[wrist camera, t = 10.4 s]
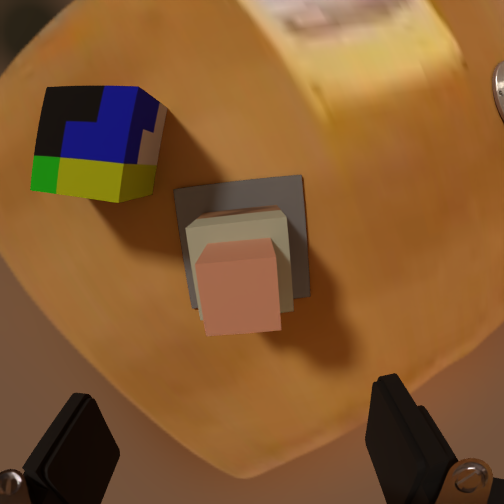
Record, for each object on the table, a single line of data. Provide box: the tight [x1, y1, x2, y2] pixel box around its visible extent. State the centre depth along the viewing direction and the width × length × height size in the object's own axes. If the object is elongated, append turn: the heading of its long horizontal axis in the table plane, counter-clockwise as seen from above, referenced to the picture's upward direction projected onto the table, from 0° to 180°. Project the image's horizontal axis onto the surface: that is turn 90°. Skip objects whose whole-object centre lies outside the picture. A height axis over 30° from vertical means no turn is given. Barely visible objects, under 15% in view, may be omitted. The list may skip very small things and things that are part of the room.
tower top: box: [185, 210, 294, 320], centre depth 29 cm, size 8×8×5 cm
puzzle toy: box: [30, 86, 167, 203], centre depth 29 cm, size 10×10×10 cm
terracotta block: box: [195, 238, 281, 336], centre depth 23 cm, size 5×5×6 cm
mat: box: [173, 175, 310, 308], centre depth 36 cm, size 14×14×1 cm
